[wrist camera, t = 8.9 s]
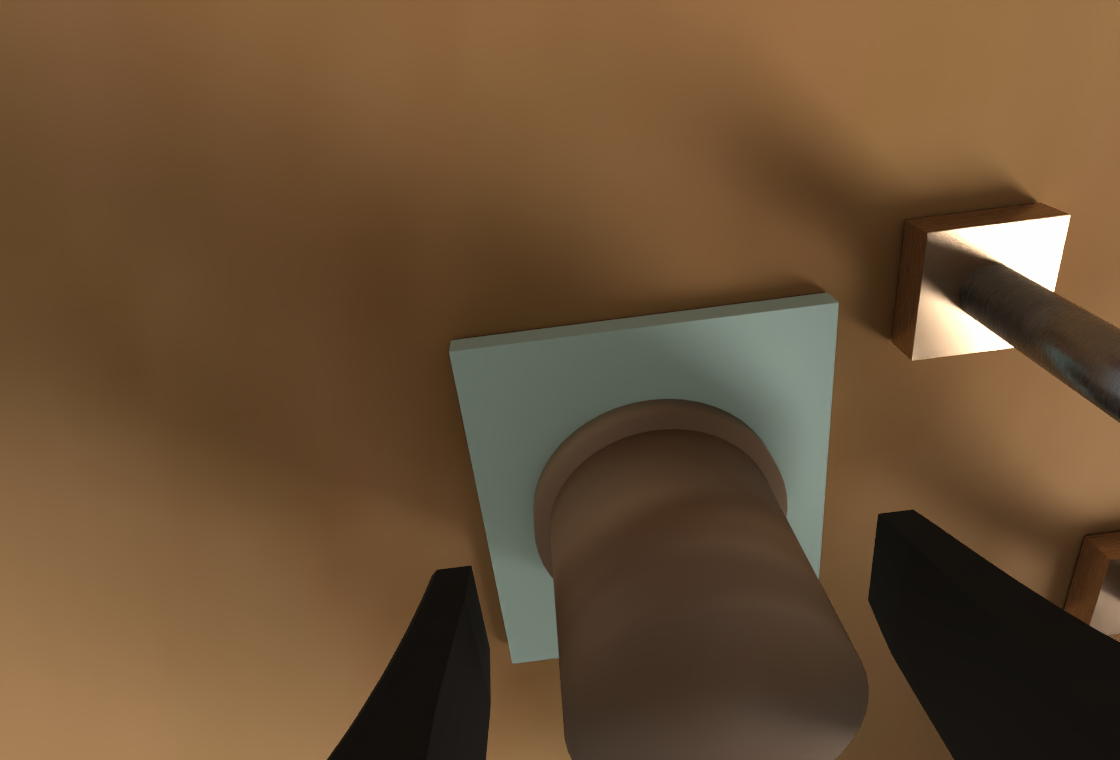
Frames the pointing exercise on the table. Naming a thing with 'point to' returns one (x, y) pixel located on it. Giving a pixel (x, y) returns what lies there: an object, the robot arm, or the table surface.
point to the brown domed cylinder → (688, 596)
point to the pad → (627, 377)
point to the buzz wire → (1014, 334)
